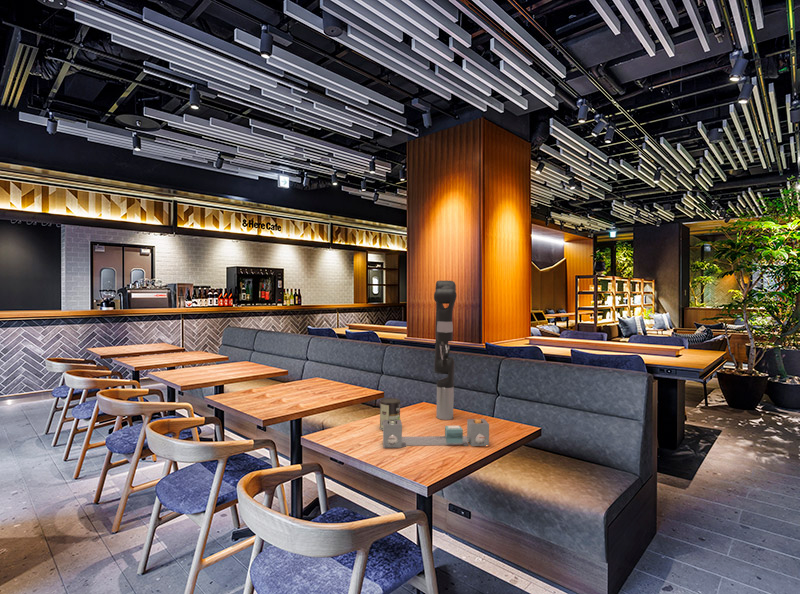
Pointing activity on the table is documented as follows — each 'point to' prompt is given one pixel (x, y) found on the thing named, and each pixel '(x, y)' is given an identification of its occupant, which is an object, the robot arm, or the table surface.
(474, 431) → the cabinet
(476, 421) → the button
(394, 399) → the coffee can
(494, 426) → the table surface
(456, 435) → the carriage
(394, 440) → the cabinet
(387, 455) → the table surface
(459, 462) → the table surface
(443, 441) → the rail
